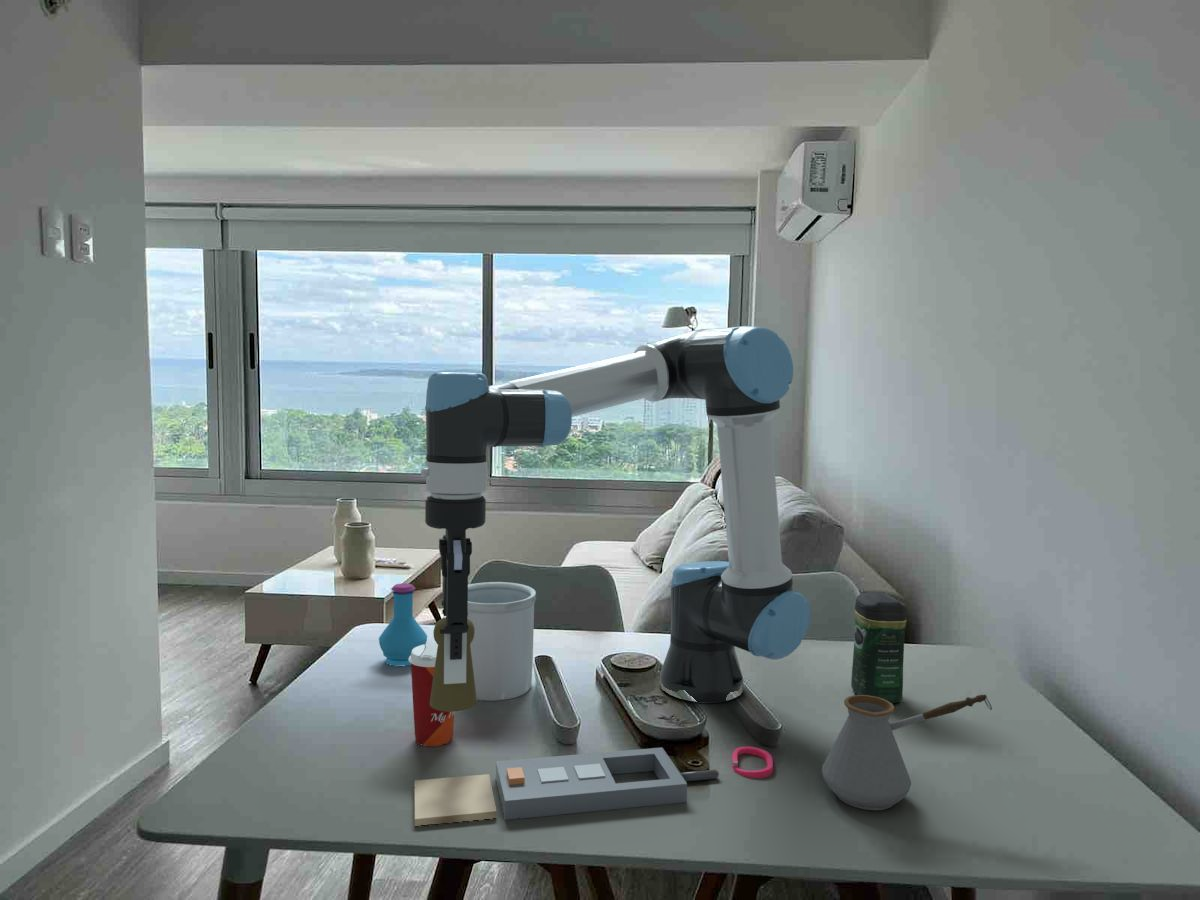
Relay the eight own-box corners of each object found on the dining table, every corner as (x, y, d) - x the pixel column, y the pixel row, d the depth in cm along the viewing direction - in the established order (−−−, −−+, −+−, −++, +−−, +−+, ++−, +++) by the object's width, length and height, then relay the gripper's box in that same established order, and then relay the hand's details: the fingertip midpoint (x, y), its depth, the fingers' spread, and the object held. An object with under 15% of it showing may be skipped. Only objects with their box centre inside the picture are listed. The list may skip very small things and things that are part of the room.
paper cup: (448, 752, 121) (448, 660, 120) (399, 747, 122) (399, 655, 121) (467, 731, 129) (467, 643, 127) (421, 726, 130) (421, 639, 129)
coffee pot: (828, 814, 105) (833, 701, 104) (814, 773, 117) (819, 670, 116) (1001, 827, 103) (1008, 712, 102) (970, 783, 115) (976, 679, 113)
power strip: (704, 760, 120) (705, 738, 120) (733, 797, 109) (734, 773, 109) (495, 778, 113) (496, 755, 113) (504, 820, 102) (505, 794, 102)
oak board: (489, 781, 112) (489, 774, 112) (496, 818, 103) (496, 811, 103) (414, 787, 110) (414, 780, 110) (414, 826, 100) (414, 819, 100)
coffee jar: (909, 706, 142) (914, 601, 141) (864, 706, 142) (869, 601, 140) (887, 686, 152) (892, 587, 150) (845, 685, 152) (849, 587, 150)
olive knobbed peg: (455, 690, 110) (456, 609, 109) (486, 702, 106) (488, 618, 105) (419, 702, 105) (420, 618, 104) (450, 715, 101) (451, 628, 100)
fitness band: (732, 753, 124) (732, 743, 123) (771, 756, 123) (771, 746, 123) (731, 778, 116) (732, 767, 115) (774, 782, 115) (774, 771, 115)
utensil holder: (523, 706, 139) (524, 605, 138) (439, 699, 141) (440, 599, 140) (542, 676, 153) (544, 584, 152) (466, 670, 156) (467, 579, 154)
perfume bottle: (436, 659, 162) (437, 584, 161) (402, 672, 154) (402, 593, 153) (403, 650, 167) (403, 577, 165) (368, 662, 159) (368, 586, 158)
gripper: (424, 486, 111) (422, 652, 113) (426, 505, 94) (425, 703, 95) (479, 485, 113) (477, 650, 115) (492, 504, 95) (489, 699, 97)
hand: (453, 673), depth 105 cm, fingers closed on olive knobbed peg, 5 cm apart
